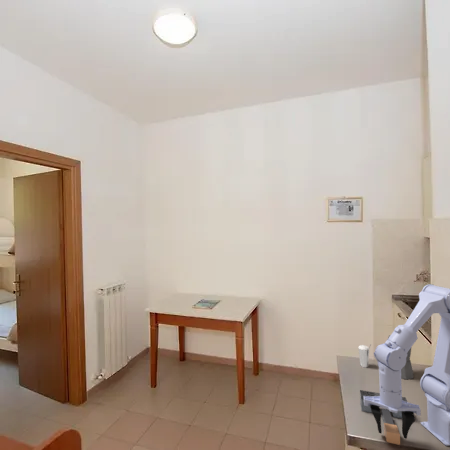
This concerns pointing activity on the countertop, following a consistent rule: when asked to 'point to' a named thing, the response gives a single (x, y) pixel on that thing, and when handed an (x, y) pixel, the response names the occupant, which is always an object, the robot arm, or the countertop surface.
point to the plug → (390, 428)
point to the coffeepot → (407, 367)
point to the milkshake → (364, 355)
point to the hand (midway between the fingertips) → (391, 433)
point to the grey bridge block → (368, 408)
